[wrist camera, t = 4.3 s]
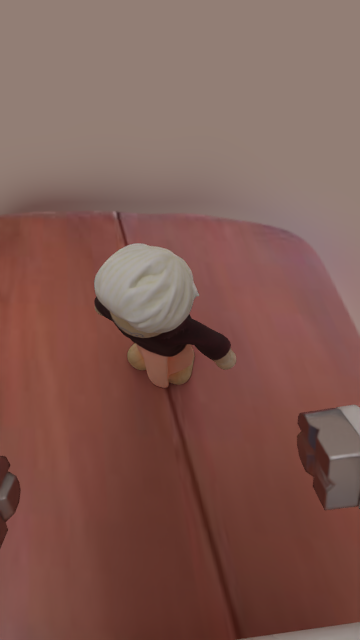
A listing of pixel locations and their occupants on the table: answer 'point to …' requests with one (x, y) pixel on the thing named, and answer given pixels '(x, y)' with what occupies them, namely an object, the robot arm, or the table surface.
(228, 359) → the grandmother figurine
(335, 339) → the table surface
